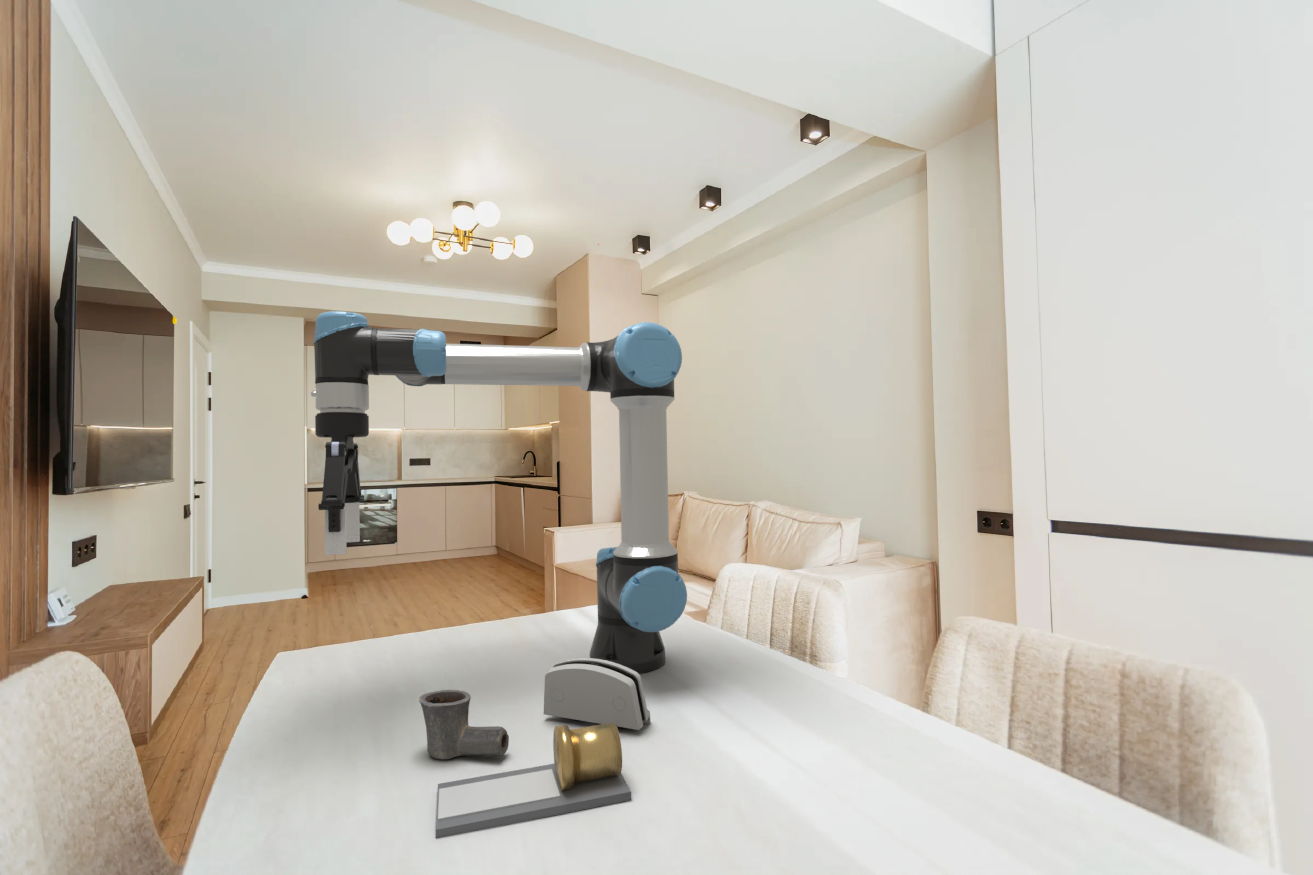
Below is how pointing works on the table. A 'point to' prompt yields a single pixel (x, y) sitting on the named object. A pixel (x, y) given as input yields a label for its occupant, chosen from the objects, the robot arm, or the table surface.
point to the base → (518, 799)
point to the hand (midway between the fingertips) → (343, 547)
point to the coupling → (586, 753)
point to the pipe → (458, 728)
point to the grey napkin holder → (596, 693)
